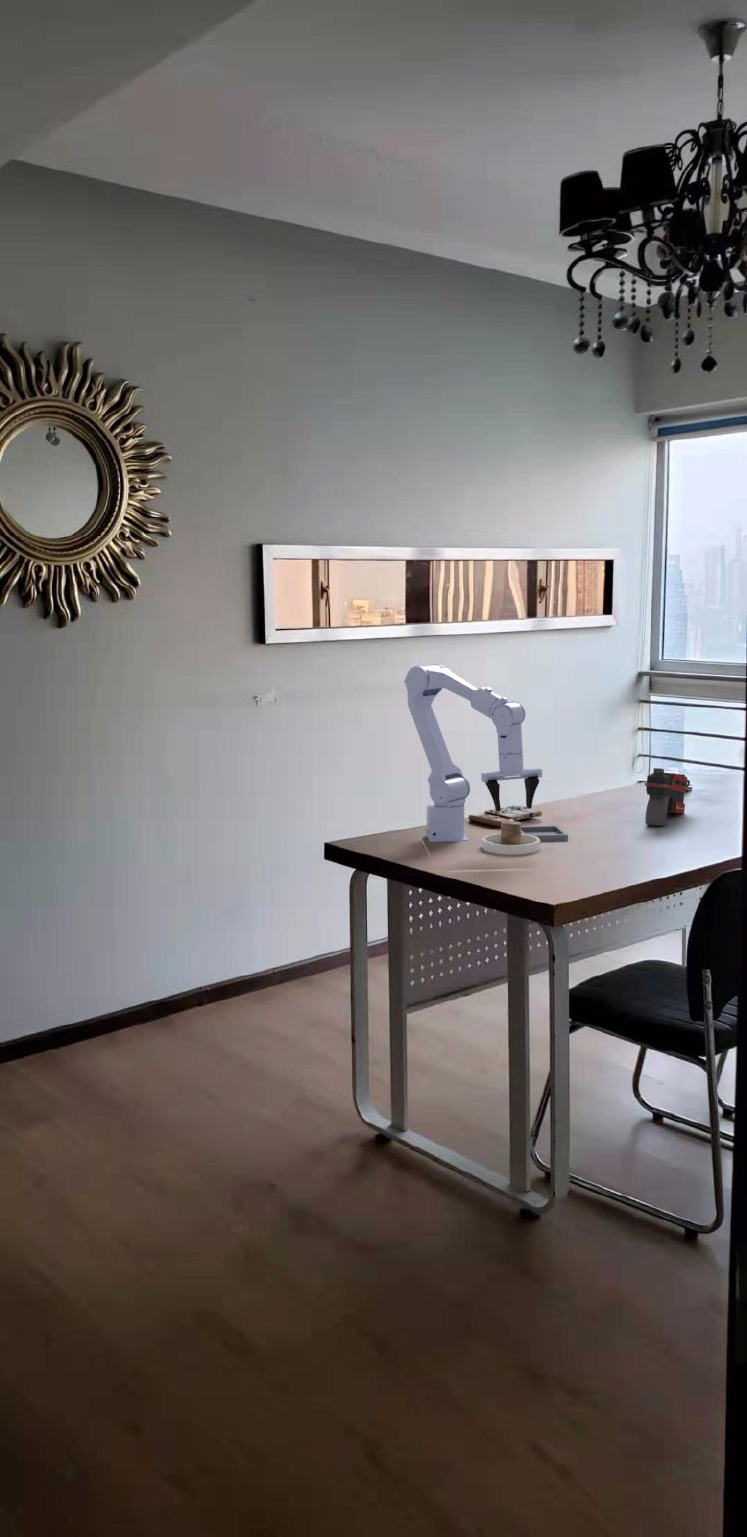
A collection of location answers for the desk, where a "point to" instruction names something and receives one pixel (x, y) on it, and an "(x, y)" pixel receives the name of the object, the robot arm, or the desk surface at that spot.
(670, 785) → the toy gun
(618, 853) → the desk surface
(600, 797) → the desk surface
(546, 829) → the tray
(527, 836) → the bowl
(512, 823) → the cylinder
